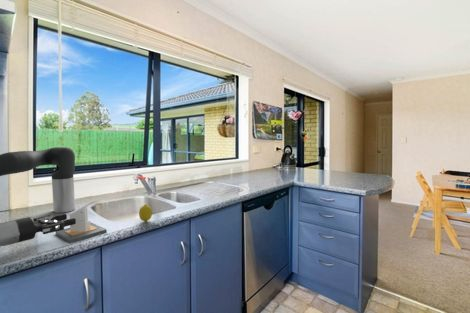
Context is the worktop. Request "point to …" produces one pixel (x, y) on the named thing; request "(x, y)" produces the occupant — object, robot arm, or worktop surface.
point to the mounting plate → (80, 233)
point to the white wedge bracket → (80, 220)
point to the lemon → (145, 213)
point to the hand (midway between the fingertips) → (70, 218)
